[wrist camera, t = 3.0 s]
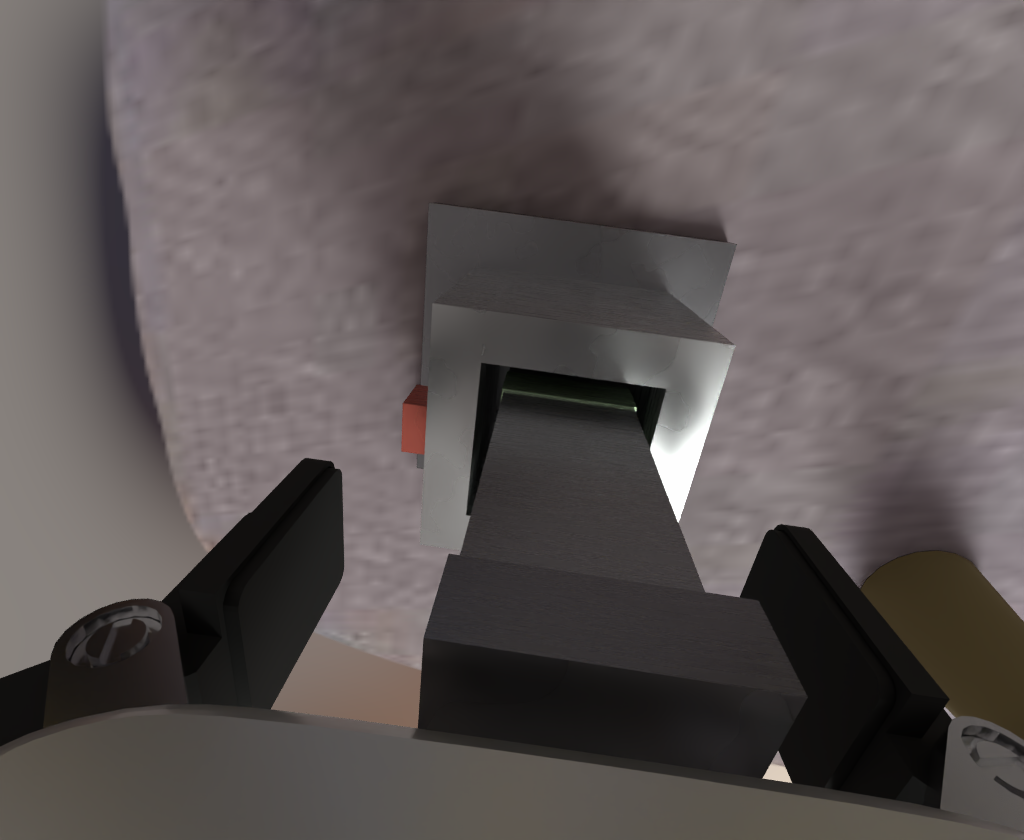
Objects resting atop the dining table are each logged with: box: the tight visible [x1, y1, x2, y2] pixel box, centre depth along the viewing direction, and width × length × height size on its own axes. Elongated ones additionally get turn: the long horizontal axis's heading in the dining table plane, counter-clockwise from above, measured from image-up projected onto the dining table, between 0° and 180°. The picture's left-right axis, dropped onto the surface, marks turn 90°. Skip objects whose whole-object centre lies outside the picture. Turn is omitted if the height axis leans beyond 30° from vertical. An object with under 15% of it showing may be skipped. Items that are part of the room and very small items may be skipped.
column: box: [418, 367, 808, 779], centre depth 13 cm, size 6×4×17 cm, turn 173°
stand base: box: [402, 203, 737, 551], centre depth 18 cm, size 12×12×9 cm
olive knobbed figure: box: [860, 551, 1024, 740], centre depth 21 cm, size 6×6×11 cm
